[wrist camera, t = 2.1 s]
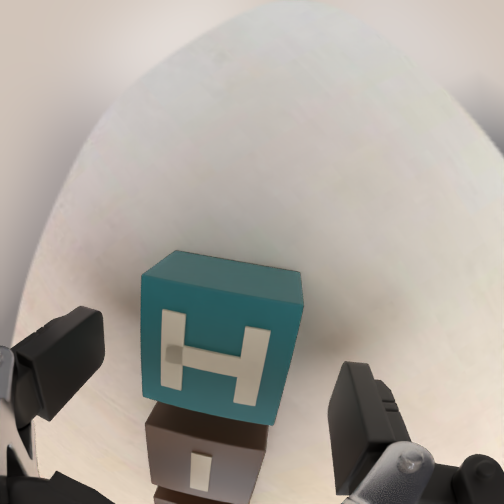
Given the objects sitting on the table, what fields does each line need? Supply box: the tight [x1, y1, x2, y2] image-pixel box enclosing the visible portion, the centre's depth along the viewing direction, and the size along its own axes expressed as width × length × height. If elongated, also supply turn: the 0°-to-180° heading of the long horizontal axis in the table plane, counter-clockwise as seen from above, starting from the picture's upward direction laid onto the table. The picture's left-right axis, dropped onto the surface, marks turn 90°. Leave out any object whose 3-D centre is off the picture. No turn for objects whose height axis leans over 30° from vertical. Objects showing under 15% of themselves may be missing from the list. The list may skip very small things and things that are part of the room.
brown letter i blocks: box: [145, 401, 269, 504], centre depth 13 cm, size 11×5×3 cm, turn 171°
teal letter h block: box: [141, 251, 304, 426], centre depth 11 cm, size 5×5×3 cm
